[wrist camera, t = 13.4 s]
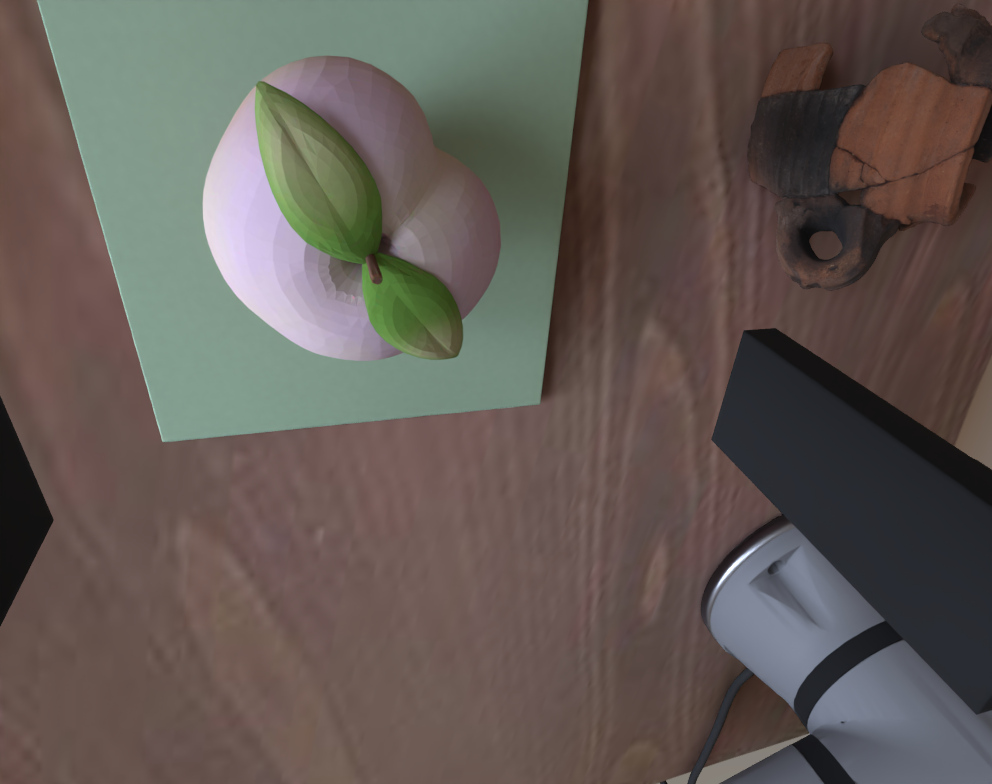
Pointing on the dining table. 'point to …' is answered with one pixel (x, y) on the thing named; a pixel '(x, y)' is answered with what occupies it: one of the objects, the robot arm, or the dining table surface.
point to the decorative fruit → (348, 215)
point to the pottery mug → (871, 147)
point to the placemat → (196, 135)
